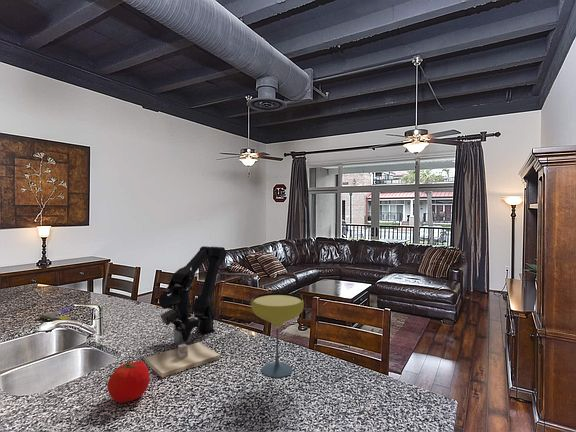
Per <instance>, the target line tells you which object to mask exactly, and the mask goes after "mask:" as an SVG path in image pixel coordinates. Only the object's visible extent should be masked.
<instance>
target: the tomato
mask: <svg viewBox="0 0 576 432" xmlns="http://www.w3.org/2000/svg"><path fill="white" fill-rule="evenodd" d="M150 377H151V376H150V372H149V369H148V367H147V365H146V363H145V361H142V360H137V361H133V362H129V360H126V363H123V364H121V365H120V366H117V367H116V368H115V370H113V372H112V374H111V376H110V377H109V378H108V382H107V386H106V390H107V392H108V394H109V396H110V398H111V399H112V400H113V402H116V403H120V404H123V403H127V402H132V401H135V400H136V399H139V398H140V397H141V396H143V394H144V393H145V392H146V390H147V388H148V387H149V384H150Z"/></svg>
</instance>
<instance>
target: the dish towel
mask: <svg viewBox="0 0 576 432" xmlns="http://www.w3.org/2000/svg"><path fill="white" fill-rule="evenodd" d="M77 305H84V304H83V303H78V304H77ZM73 306H74V305H72V306H68V307H66V308H63V309H60V310H55V311H52V312H48V313H44V314H40V315H37V318H39V317H40V319H42V318H45V319H51V320H67V319H69V317H67V316H56V315H58V313H60V312H63V311H66V310H68V309H69V308H72V307H73ZM100 307H101V309H102V310H103V309H104V307H103V306H100ZM85 313H91V311H87V312H85ZM45 319H44V320H45Z"/></svg>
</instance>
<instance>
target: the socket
mask: <svg viewBox="0 0 576 432" xmlns="http://www.w3.org/2000/svg"><path fill="white" fill-rule="evenodd" d="M180 326H181V325H179V326H178V328H175V327H174V328H173V343H174V344H175V345H176V346H178V345H181V344H184V343H185V344H186V345H191V344H192V343H191V342H192V332H191V333H190V335H189V337H188V340H187V341H186V342H184V339H183V332H182V329H181V328H180Z"/></svg>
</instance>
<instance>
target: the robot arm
mask: <svg viewBox="0 0 576 432" xmlns="http://www.w3.org/2000/svg"><path fill="white" fill-rule="evenodd" d="M227 254H228V253H227V250H226V249H225V247H223V246H222V247H221V246H201V247H200V248H199V250H198V251H197V253H196V254H194V256H193V257H192V258H191V259H190V261H189V262H188V263H187V264H186V265H185V266H182V267H181V268H179V269H178V270H176V271H175V272H174V273H173V274H172V277H171V278H170V281H169V283H168V285H167V287H166V290H165V289H164V290H162V294H160V296H159V298H158V304H159V306H160V307H161V308H162V309H165V310H166V309H169V308H171V307H172V308H171V309H169V310H167V311H166V312H164V313H162V314H161V315H160V318H161V321H162V323H163V324H165V325H167V326H169V325H170V324H172V325H173V326H174V329H175V328H178V326H179V325H181V326H180V328H181V329H182V332H183V339H184V342H186V341H187V340H188V337H189V335H190V333H191V334H192V331H193V329H195V328H196V329H195V331H196V332H197V333H199V334H201V335H206V334H209V333H214V332H216V329H214V320H216V318H217V315H218V313H217V311H216V310H215V309H214V301H213V294H214V288H215V285H216V281H217V277H218V272H219V268H220V266H221V265H222V264H223V263H224V262H225V260H226V256H227ZM206 261H207V263H208V266H207V269H206V274H205V277H204V280H203V285H202V288H201V291H200V295H199V296H198V297H195V298H194V301H193V303H192V304H191V303H190V291H191V290H193V289H194V287H193V286H192V285H191V284H192V283H193V282H194V279H195V275H196V273H197V271H198V270H199V269H200V268H201V266H203V264H204V263H205V262H206ZM190 308H192V312H193V316H194V317H192V314H191V313H190Z"/></svg>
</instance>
